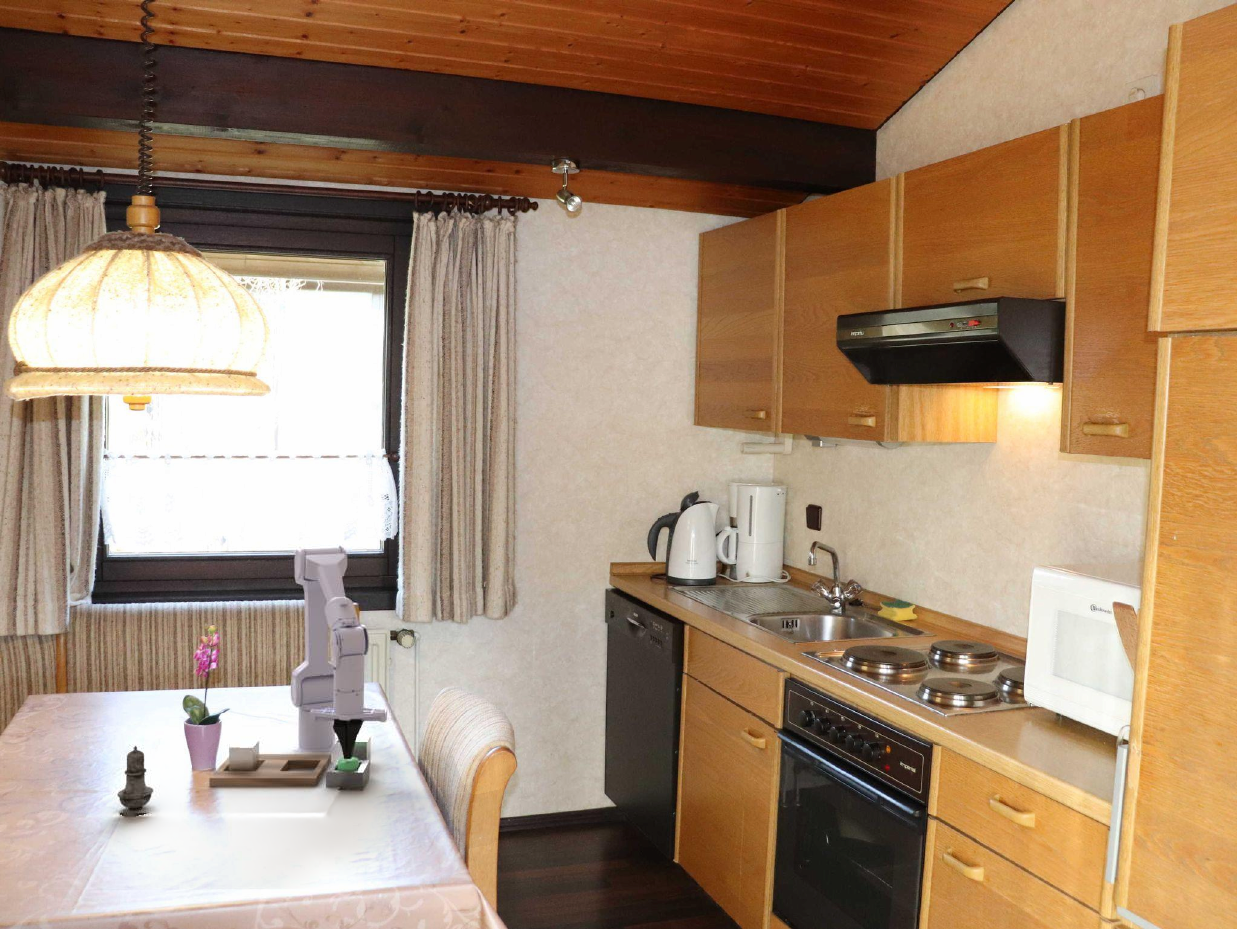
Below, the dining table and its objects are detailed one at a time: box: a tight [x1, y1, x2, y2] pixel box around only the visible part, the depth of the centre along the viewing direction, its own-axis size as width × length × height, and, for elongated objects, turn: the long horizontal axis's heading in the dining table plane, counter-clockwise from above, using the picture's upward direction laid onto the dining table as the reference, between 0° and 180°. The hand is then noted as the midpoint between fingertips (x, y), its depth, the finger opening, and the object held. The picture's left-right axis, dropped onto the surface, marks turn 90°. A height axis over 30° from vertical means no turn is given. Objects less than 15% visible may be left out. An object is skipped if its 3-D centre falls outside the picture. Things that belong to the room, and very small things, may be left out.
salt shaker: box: [117, 745, 154, 818], centre depth 189 cm, size 6×6×12 cm
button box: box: [325, 759, 370, 791], centre depth 206 cm, size 7×7×4 cm
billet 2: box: [352, 734, 372, 766], centre depth 216 cm, size 4×4×6 cm
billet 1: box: [228, 739, 260, 771], centre depth 208 cm, size 4×4×6 cm
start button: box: [337, 757, 359, 770], centre depth 206 cm, size 4×4×3 cm
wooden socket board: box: [208, 753, 332, 788], centre depth 209 cm, size 14×20×2 cm
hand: (348, 757), depth 206 cm, fingers closed
